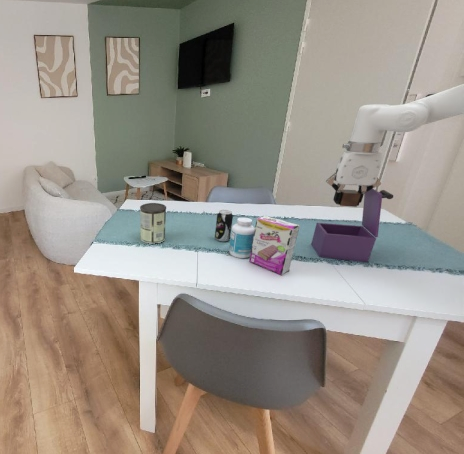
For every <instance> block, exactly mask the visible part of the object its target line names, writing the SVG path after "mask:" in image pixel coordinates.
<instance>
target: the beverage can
mask: <svg viewBox="0 0 464 454" xmlns="http://www.w3.org/2000/svg"><path fill="white" fill-rule="evenodd" d="M233 220H234V216H233V212H232V211H231V210H229V209H219V211H218V213H217V214H216V222H215V231H214V239H215V240H217V241H218V242H225V243H226V242H227V241H230V240H231V232H232V227H233Z"/></svg>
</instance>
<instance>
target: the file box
mask: <svg viewBox="0 0 464 454" xmlns="http://www.w3.org/2000/svg"><path fill="white" fill-rule="evenodd" d="M376 240H377V237H374V236H373V235H372V234H371V233H370V232H369V231H368V230H367V229H366V228H364V227H363V226H362V225H356V224H355V225H353V224H352V225H351V224H339V223H329V222H328V223H327V222H326V223H325V222H316V224H315V227H314V230H313V235H312V239H311V246H312V248H313V249H314V251H315V253H316V254H317V256H318V257H319V258H322V259H323V258H324V259H333V260H343V261H351V262H359V263H360V262H361V263H368V262H369V260H370V257H371V255H372V251H373V249H374V245H375V243H376Z"/></svg>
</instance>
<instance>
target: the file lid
mask: <svg viewBox="0 0 464 454" xmlns="http://www.w3.org/2000/svg"><path fill="white" fill-rule="evenodd" d="M393 198H394V194H392V193H391V192H388V191H387V190H385V189H381V190H380V191H378V190H376V189H375V188H373V189H371V190H369V191H368V192H366V194H364V195H363V205H362V206H363V207H362V208H363V209H362V217H361V218H362V219H361V226H363V227H364V228H365V229H366V230H367V231H368V232H369V233H371V234H372V235H373V236H374V237H375V238H379V229H380V221H381V213H382V212H381V211H382V203H383V199H387V200H392V199H393Z"/></svg>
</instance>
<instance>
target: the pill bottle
mask: <svg viewBox="0 0 464 454" xmlns="http://www.w3.org/2000/svg"><path fill="white" fill-rule="evenodd" d="M254 231H255V226H254V225H253V220H252V218H249V217H244V216H243V217H237V219H236V223H234V224H232V227H231V235H230V239H229V248H228V252H229V254H230V255H231V256H232V257H235V258H236V259H237V258H238V259H247V258H250V254H251V249H252V243H253V237H254Z"/></svg>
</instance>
